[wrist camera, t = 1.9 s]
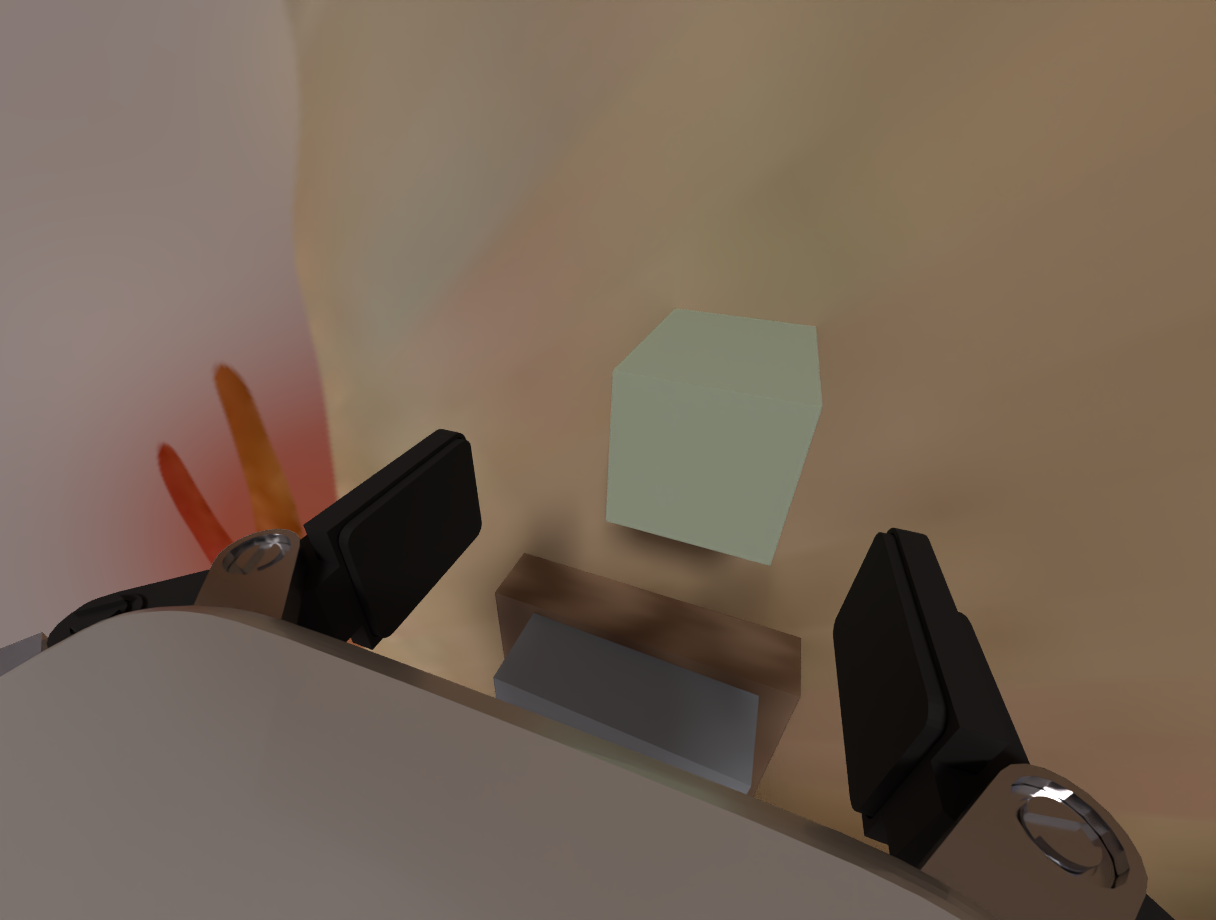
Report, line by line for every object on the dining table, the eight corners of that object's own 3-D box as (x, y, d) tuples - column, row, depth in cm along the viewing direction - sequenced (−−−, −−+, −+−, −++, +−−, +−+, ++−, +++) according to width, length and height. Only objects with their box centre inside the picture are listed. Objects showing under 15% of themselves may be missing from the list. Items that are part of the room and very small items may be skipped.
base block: (800, 627, 24) (800, 697, 20) (735, 782, 33) (728, 846, 30) (530, 545, 28) (495, 592, 25) (542, 704, 38) (518, 752, 35)
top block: (759, 695, 21) (751, 786, 18) (699, 826, 30) (687, 902, 27) (533, 612, 24) (493, 677, 21) (539, 753, 33) (511, 813, 30)
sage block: (815, 326, 16) (822, 406, 10) (780, 448, 18) (770, 565, 13) (675, 308, 17) (613, 370, 11) (661, 424, 20) (605, 520, 14)
